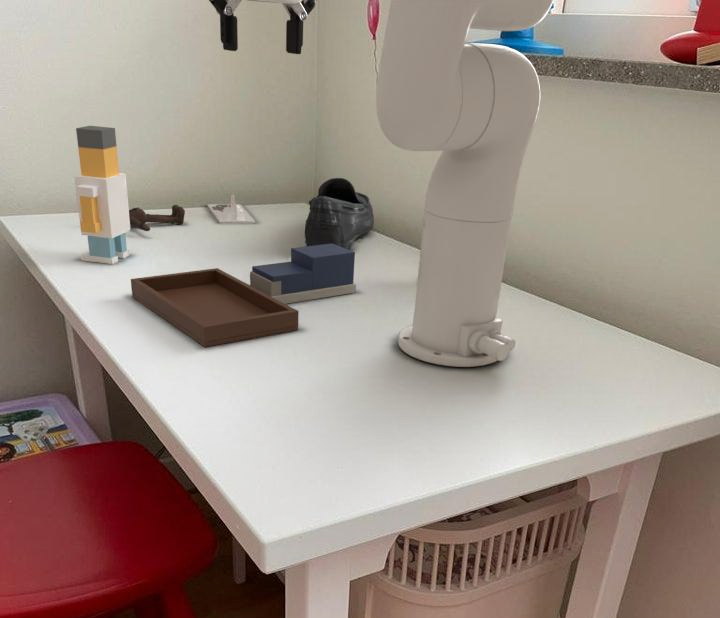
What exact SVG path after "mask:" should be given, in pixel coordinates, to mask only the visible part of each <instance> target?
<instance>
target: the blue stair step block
mask: <svg viewBox="0 0 720 618" xmlns="http://www.w3.org/2000/svg"><path fill="white" fill-rule="evenodd" d="M290 249H291V250H290V261H284V262H275V263H269V264H268V263H267V264H261V265H253V266H251V271H250V272H249V285H250V286H252V287H254V288H256V289H258V290H260V291H261V292H263V293H265V294H267V295H269V296H271V297H273V298H275V299H276V300H278V301H280V302H282V303H284V304H286V305H288V304H293V303H298V302H305V301H312V300H317V299H324V298H331V297H336V296H343V295H348V294H354V293H357V292H356V291H357V284H356V283H354V275H355V259H356V252H355V251H352V250H351V249H350V250H348V249H345V248H343V247H340V246H338V245H335V244H333V243H332V244H323V245H315V246H299V247H298V246H297V247H291V248H290Z"/></svg>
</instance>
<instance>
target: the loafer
mask: <svg viewBox="0 0 720 618" xmlns="http://www.w3.org/2000/svg"><path fill="white" fill-rule="evenodd" d="M308 204H309V208H308V209H309V212H308V215H307V218H306V220H305V225H304V238H305V240H304V244H305V245H306V246H315V245H323V244H332V243H333V244H335V245H338V246H340V247H343V248H345V249H348V250H350V251H351V249H352V248H353V245H354V243H355V241H356V239H358V238H363V237H365V236H367V235H368V234H369V233H370V232H371V231H372V230H373V228H374V223H375V216H374V210H373V206H372V204H371V201H370V198H369V196H368V195H366V194H363V193H361V192H357V191H356V189H355V186H354V185H353V183H351V181H350V180H348V179H346V178H343V177H333V178H330V179H327V180H325V181H324V182H322V184H321V185H320V186H319V188H318V193H317V196H314V197H313V198H311V199H310V200H308ZM306 246H305V247H306Z"/></svg>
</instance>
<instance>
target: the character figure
mask: <svg viewBox="0 0 720 618" xmlns="http://www.w3.org/2000/svg"><path fill="white" fill-rule="evenodd" d="M75 132H76V140H77V150H78V157H79V166H80V174H77V175H74V183H75V193H76V200H77V209H78V219H79V225H80V226H79V227H80V234H81V235H82V236H87V244H88V245H87V246H88V251H86V252H84V253H80V255H79V256H80V260H81V261H85V262H92V263H100V264H109V265H113V264H115V263H118V262H119V259H126V258H127V257H129V256H130V250H129V249H128V248H127V238H126V237H127V236H126V233H128V232H129V231H130V232H131V225H130V218H129V210H130V208H129V207H130V206H129V198H128V195H129V194H128V187H127V174H126V173H125V172H120V167H119V159H118V157H119V156H118V147H117V146H118V145H117V135H116V127H109V126H107V127H106V126H100V125H99V126H98V125H87V126H80V127H76V128H75Z"/></svg>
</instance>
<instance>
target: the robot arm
mask: <svg viewBox="0 0 720 618" xmlns="http://www.w3.org/2000/svg"><path fill="white" fill-rule="evenodd" d="M208 1H209V3H210V4H211V5H212V6H213V8H214V9H215V12H216V14H217V15H218V16H219V34H220V36H219V37H220V43H222V48H223V51H228V52H229V51H230V52H237V51H238V48H239V44H238V40H239V39H238V38H239V37H238V17H237V15H235V14H234V12H235V11H236V9H237V8H238V6H239V5H240V3H241V2H242V0H208ZM247 1H249V2H261V3H274V4H282V6H283V7H284V9H285V11H286V13H287V14H288V16H289V19H287V20H286V25H285V26H286V27H285V36H286V37H285V51H286V53H287V54H292V55H301V54H302V48H303V45H304V22H305V21H307V19H308V16H309V15H310V13H311V12H312V11H313V10H314V8H315V7H316V2H317V0H247ZM554 1H555V0H390V4H389V9H388V13H387V14H388V15H387V21H386V26H385V32H384V38H383V45H382V49H381V55H380V61H379V67H378V72H377V73H378V74H377V81H376V91H375V106H376V107H375V108H376V114H377V119H378V123H379V126H380V128H381V131H382V133H383V135H384V136H385V137H386V139H387V140H388V141H389V142H390V143H391V144H392V145H394V146H395V147H397V148H400V149H401V150H406V151H410V152H441V154H440V155H439V157H438V159H437V160H436V163H435V165H434V168H433V170H432V172H431V174H430V178H429V181H428V184H427V188H426V194H425V202H424V211H423V221H422V230H421V240H420V249H419V252H420V253H419V259H418V269H417V271H418V272H417V280H416V282H417V283H416V291H415V301H414V311H413V321H412V324H411V325H408V326H406V327H404V328H402V329H401V330H400V331H399V333H398V339H397V342H398V346H399V348H400V349H401V350H402V351H403V352H404V353H405V354H407V355H409V356H410V357H412V358H415V359H416V360H420V361H423V362H426V363H430V364H434V365H439V366H444V367H445V366H446V367H455V368H471V367H473V368H474V367H480V366H481V367H482V366H487V365H490V364H491V365H492V364H494V363H495V362H497V361H498V362H501V361H505V359H506V358H507V357H508V356H509V352H511V351H513V349H514V348H515V346H516V340H515V339H513V338H512V337H509V336H507V335H502V327H503V320H502V319H501V318H498V317H497V315H498V307H499V301H500V293H501V287H502V281H503V275H504V268H505V263H506V256H507V249H508V243H509V236H510V230H511V224H512V223H511V222H512V218H513V213H514V207H515V201H516V194H517V189H518V184H519V179H520V174H521V169H522V165H523V162H524V158H525V154H526V152H527V148H528V146H529V143H530V139H531V137H532V134H533V132H534V131H533V130H534V128H535V125H536V122H537V118H538V114H539V110H540V105H541V83H540V80H539V76H538V73H537V71H536V68H535V67H534V65H533V64H532V62H531V61H530V60H529V59H528V58H527V57H526V56H525V55H524V54H523V53H521V52H520V51H518V50H516V49H514V48H512V47H511V48H510V47H509V46H505V45H501V44H494V43H482V42H469V41H467V36H468V33H469V30H471V29H472V30H481V31H482V30H483V31H494V32H495V31H497V32H519V31H524V30H528V29H531V28H533V27H535V26H536V25H538V24H539V23H540V22H542V21H543V20H544V18H545V17H546V16H547V15H548V13H549V11H550V10H551V8H552V6H553V4H554ZM466 41H467V42H466Z"/></svg>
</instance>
